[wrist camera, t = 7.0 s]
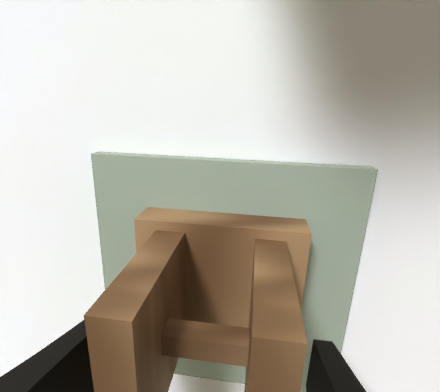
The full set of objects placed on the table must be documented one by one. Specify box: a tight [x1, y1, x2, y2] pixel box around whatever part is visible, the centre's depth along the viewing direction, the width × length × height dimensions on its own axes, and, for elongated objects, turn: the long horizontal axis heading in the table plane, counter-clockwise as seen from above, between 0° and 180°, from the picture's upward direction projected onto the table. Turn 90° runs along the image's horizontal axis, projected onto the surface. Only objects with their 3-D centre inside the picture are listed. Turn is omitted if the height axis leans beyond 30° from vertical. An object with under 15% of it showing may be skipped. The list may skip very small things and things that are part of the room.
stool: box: [84, 207, 312, 392], centre depth 10 cm, size 7×6×6 cm
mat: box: [91, 152, 378, 392], centre depth 14 cm, size 12×12×1 cm
